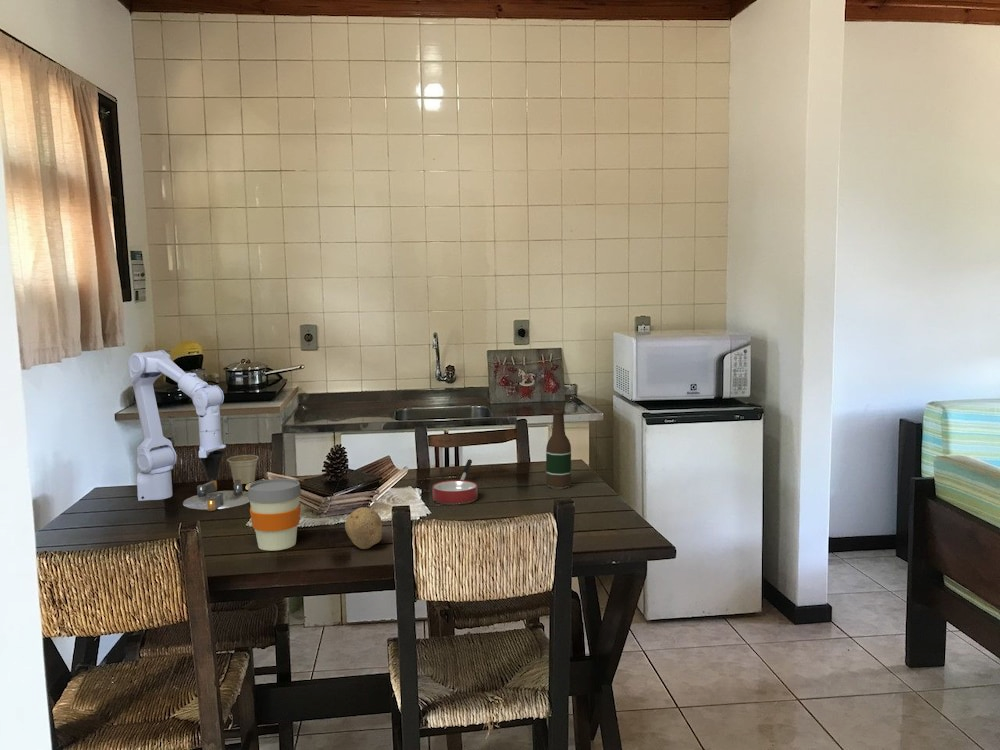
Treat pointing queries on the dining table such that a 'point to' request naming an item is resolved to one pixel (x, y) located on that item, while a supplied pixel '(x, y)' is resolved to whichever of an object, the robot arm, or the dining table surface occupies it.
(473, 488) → the frying pan
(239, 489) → the knob right
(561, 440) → the beer bottle
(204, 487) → the knob left
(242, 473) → the flower pot
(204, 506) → the plate
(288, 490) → the reusable coffee cup
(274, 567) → the dining table surface
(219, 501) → the knob front
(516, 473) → the dining table surface
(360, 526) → the potato
